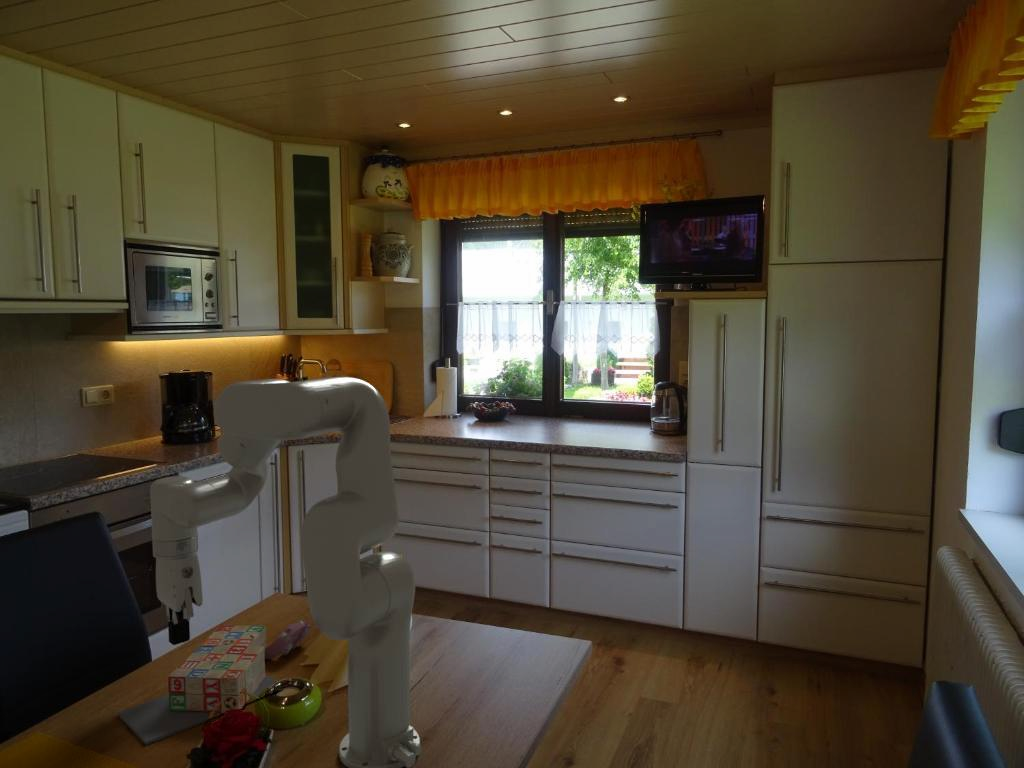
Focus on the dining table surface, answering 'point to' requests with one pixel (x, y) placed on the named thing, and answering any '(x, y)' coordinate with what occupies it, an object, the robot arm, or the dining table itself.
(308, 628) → the purple toy animal
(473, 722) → the dining table surface
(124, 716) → the mat
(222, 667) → the stack of blocks
